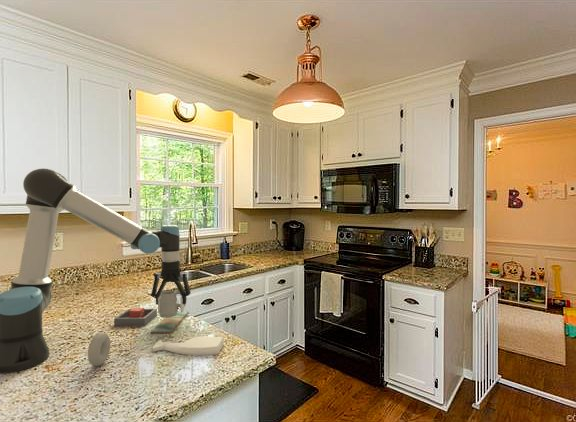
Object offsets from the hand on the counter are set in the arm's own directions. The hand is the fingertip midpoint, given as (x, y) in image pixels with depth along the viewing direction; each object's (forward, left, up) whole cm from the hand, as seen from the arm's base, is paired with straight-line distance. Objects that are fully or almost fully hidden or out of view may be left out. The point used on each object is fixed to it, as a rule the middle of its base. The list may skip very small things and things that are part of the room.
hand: (171, 311), depth 141 cm
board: (0, 0, -5) cm, 5 cm away
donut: (-37, +10, -5) cm, 39 cm away
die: (+2, +16, -4) cm, 17 cm away
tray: (+3, +17, -5) cm, 18 cm away
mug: (0, -1, -1) cm, 2 cm away
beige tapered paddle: (-26, -15, -5) cm, 30 cm away
